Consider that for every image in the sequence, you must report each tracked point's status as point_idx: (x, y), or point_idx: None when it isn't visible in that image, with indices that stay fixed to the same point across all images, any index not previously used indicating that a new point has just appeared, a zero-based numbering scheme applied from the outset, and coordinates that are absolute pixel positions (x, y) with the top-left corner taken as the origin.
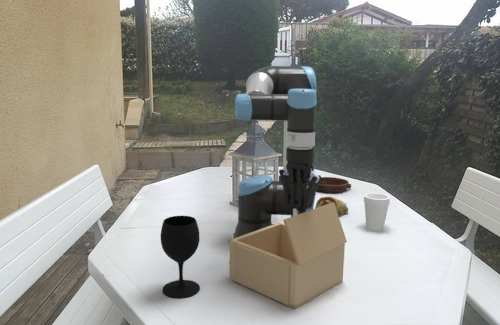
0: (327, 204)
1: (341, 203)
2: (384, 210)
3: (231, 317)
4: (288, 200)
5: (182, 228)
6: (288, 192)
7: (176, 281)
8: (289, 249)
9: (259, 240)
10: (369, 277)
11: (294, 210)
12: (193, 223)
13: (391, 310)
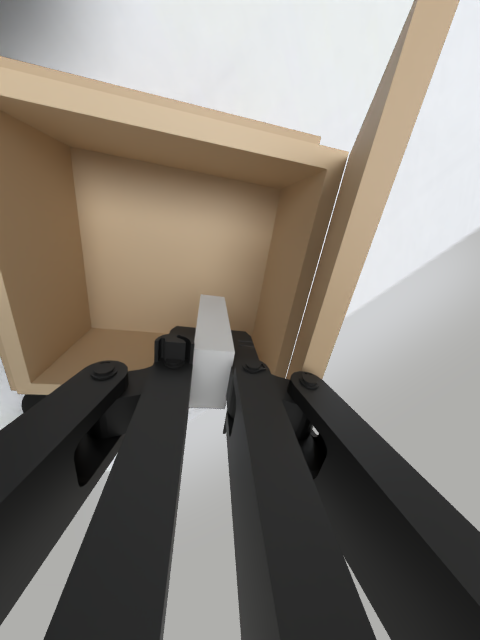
0: (402, 156)
1: None
2: None
3: (193, 411)
4: (117, 452)
5: None
6: (50, 532)
7: (29, 405)
8: (95, 143)
9: (29, 263)
10: (344, 101)
11: (200, 402)
12: None
13: (402, 246)
